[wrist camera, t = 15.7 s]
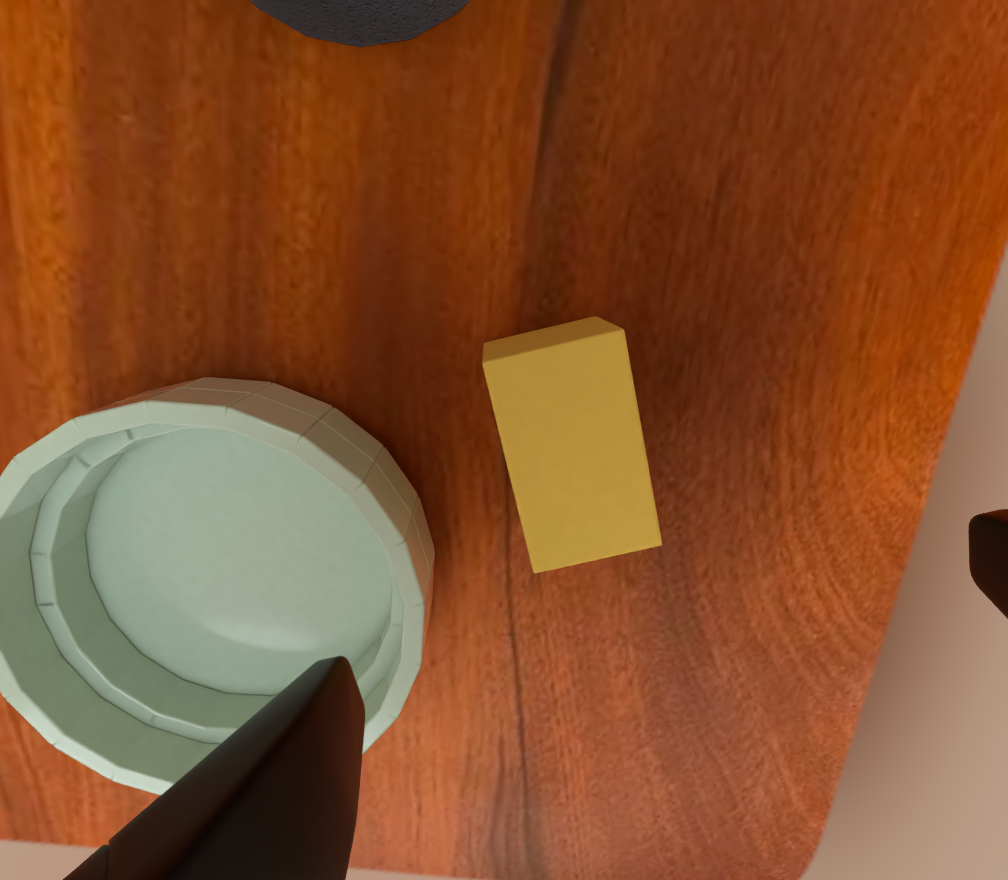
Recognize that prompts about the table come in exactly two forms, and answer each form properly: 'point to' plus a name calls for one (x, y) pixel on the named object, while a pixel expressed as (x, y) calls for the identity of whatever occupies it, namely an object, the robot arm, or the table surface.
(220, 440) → the bowl
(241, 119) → the table surface
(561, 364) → the sponge
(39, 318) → the table surface
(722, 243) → the table surface
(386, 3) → the mug
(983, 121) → the table surface
